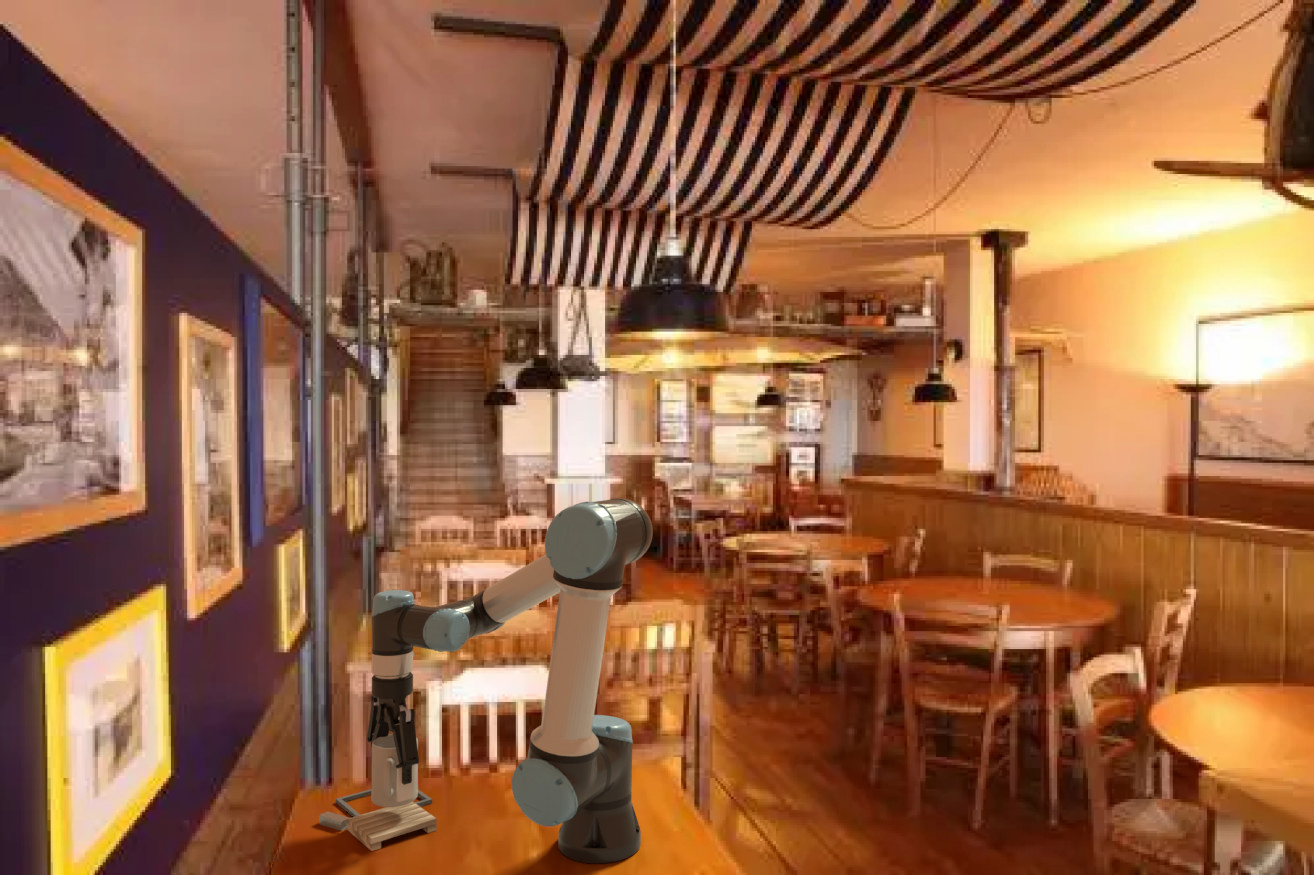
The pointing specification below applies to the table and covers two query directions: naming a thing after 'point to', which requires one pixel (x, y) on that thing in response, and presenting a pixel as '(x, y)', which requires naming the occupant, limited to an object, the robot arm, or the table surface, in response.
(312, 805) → the table surface
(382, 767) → the mug
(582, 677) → the robot arm
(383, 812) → the rack
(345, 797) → the socket frame
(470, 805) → the table surface
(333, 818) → the grey rectangular bar
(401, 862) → the table surface
